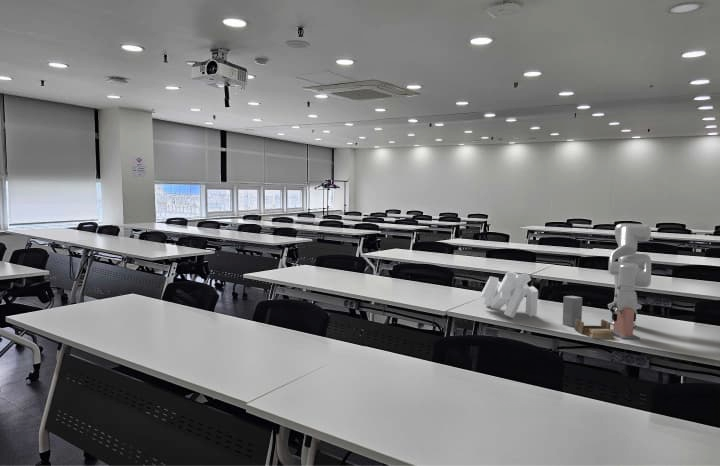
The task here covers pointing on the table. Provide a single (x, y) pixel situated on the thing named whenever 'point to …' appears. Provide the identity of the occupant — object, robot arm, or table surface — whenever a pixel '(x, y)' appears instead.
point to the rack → (585, 329)
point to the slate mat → (624, 336)
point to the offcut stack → (600, 333)
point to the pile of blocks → (511, 293)
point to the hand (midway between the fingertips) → (623, 320)
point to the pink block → (624, 322)
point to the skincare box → (572, 310)
